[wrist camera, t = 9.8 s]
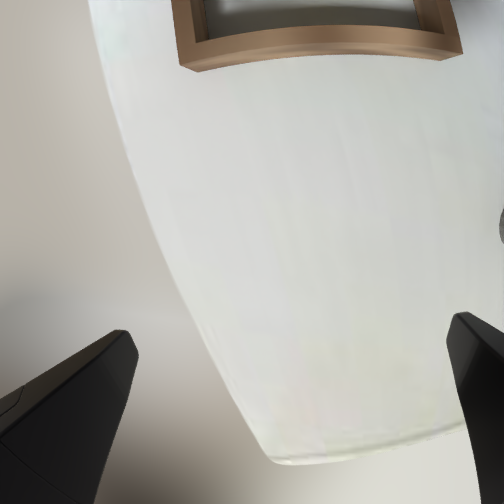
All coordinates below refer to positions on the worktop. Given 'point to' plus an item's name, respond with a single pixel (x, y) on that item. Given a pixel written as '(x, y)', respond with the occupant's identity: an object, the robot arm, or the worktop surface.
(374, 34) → the box
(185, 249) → the worktop surface
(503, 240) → the beverage cup
